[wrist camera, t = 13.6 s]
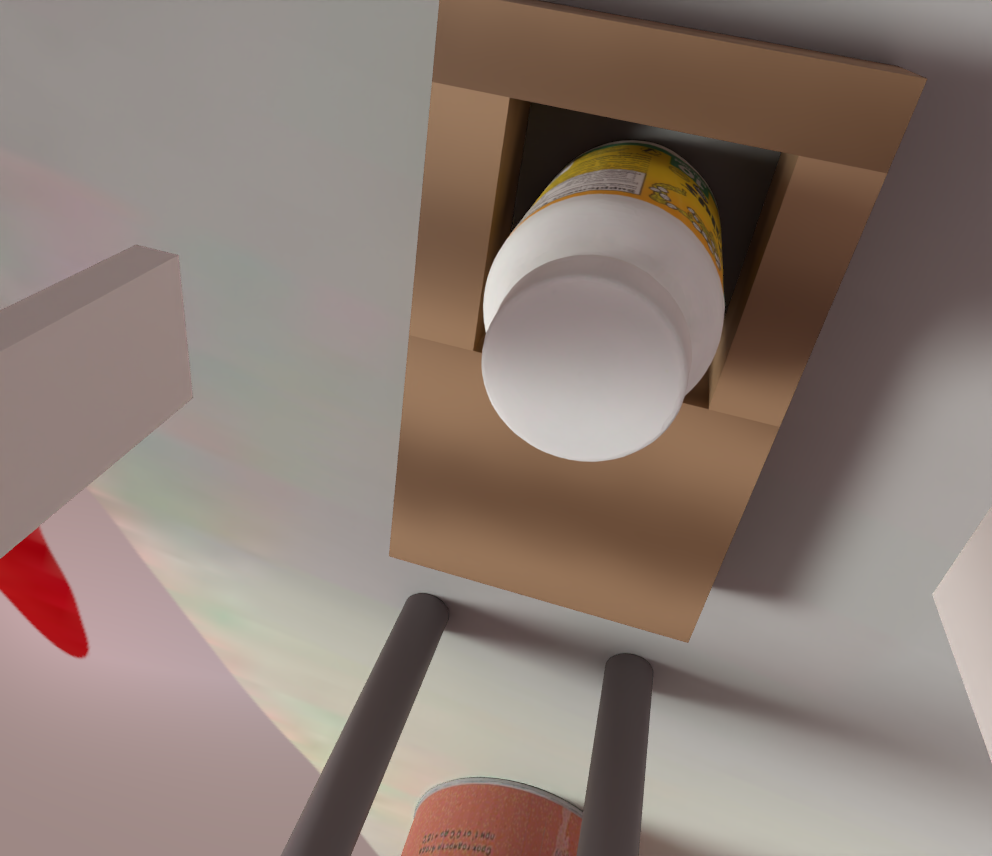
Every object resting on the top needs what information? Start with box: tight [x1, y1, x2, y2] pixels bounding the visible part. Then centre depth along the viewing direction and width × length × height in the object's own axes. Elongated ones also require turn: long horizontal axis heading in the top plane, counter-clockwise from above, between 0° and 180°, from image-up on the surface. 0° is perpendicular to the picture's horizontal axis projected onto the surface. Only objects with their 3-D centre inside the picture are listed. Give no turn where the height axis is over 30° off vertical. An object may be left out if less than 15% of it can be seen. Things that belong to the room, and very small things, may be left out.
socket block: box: [389, 0, 927, 643], centre depth 23 cm, size 18×11×3 cm, turn 170°
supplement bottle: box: [481, 140, 725, 462], centre depth 18 cm, size 5×5×10 cm
